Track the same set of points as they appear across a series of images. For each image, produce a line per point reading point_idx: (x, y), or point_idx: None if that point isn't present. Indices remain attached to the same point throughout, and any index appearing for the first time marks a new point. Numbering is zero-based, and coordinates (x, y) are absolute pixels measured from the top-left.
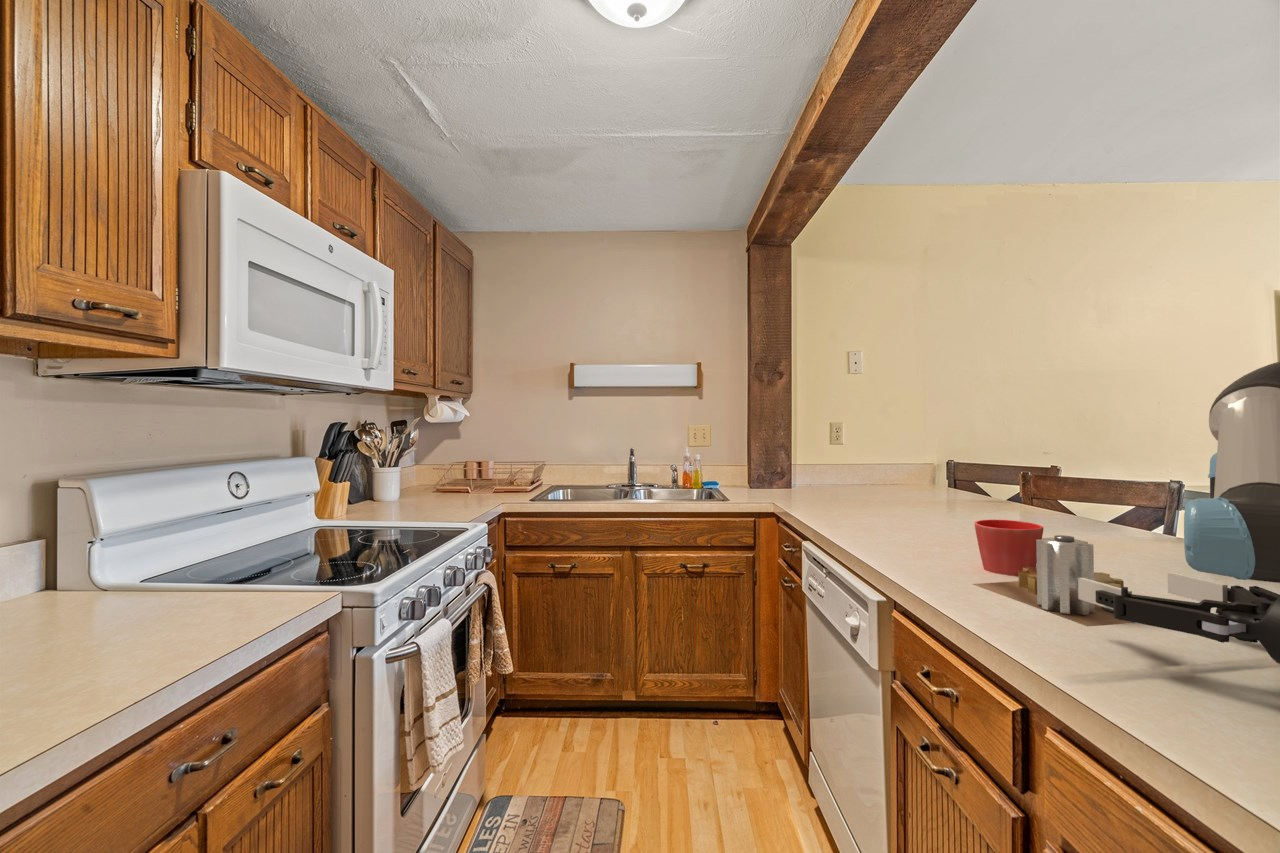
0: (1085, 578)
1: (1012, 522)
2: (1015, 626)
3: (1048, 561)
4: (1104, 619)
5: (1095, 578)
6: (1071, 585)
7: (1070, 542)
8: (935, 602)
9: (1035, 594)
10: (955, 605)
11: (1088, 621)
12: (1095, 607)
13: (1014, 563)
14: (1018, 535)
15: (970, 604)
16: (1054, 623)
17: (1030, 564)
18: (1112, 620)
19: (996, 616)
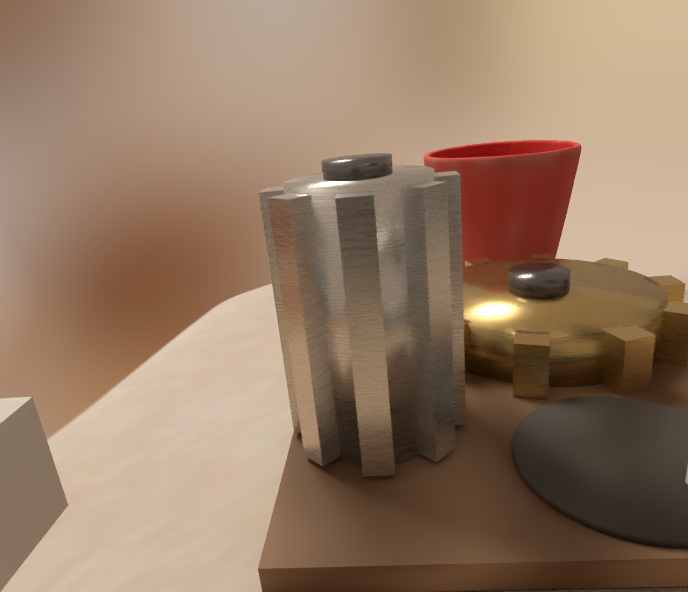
0: (16, 407)
1: (538, 145)
2: (108, 500)
3: (276, 263)
4: (415, 517)
5: (606, 301)
6: (335, 361)
7: (352, 180)
8: (150, 360)
9: None
10: (169, 374)
11: (324, 527)
12: (500, 423)
13: (481, 247)
14: (483, 174)
15: (214, 372)
16: (267, 493)
17: (523, 248)
18: (440, 529)
19: (167, 433)
